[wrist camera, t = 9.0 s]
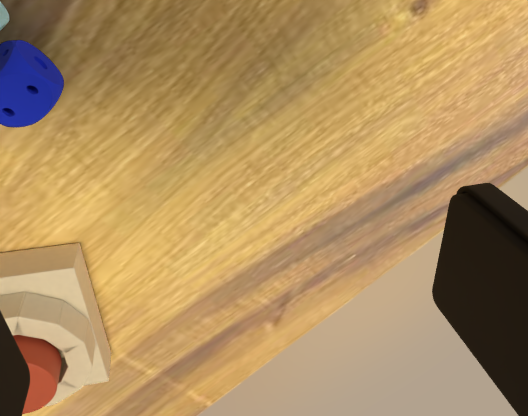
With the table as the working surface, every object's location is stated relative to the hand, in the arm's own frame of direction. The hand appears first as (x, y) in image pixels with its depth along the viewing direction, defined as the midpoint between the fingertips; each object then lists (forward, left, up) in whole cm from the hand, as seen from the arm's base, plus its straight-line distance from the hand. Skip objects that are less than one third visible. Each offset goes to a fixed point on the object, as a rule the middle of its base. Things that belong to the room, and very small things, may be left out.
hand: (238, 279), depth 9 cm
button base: (+13, -10, -15) cm, 22 cm away
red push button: (+13, -10, -11) cm, 20 cm away
